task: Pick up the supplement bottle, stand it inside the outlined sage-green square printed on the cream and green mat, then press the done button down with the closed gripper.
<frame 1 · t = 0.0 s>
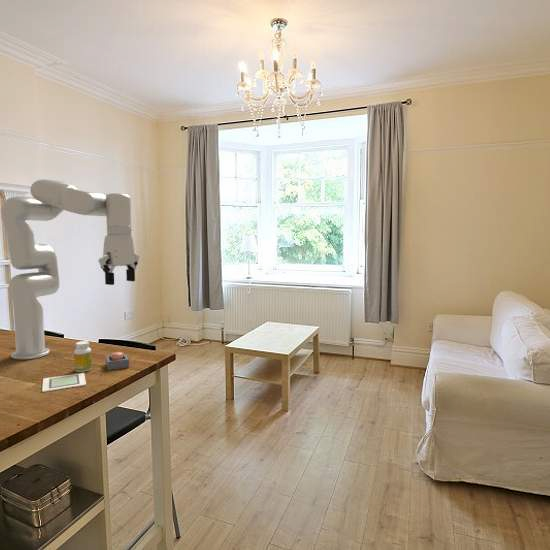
hand: (120, 282, 133), 31 cm above the table, tool pointing down, fingers open, 9 cm apart
done button: (117, 357, 142), point 3 cm above the table, slide at 0.0 cm
cream and green mat: (64, 382, 127), on the table
done button base: (117, 365, 143), on the table
supplement bottle: (83, 370, 139), on the table
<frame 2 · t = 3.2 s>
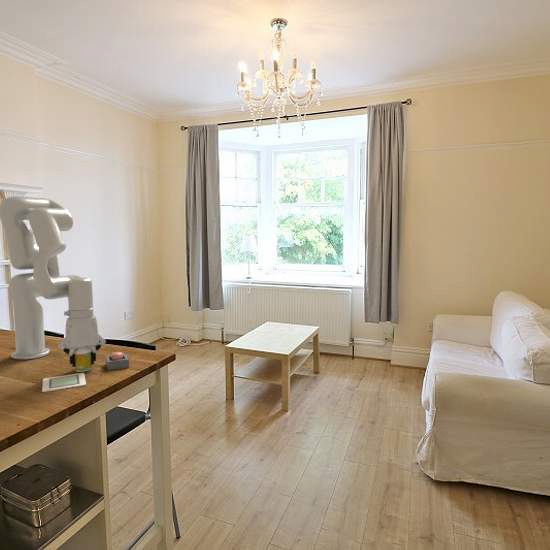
hand: (83, 364, 138), 2 cm above the table, tool pointing down, fingers closed on supplement bottle, 5 cm apart
supplement bottle: (83, 370, 139), on the table, touching gripper
everything else where it was.
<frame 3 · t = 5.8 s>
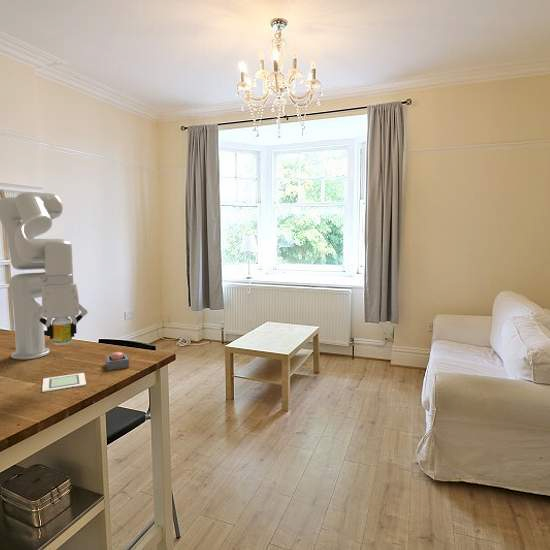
hand: (62, 336, 125), 15 cm above the table, tool pointing down, fingers closed on supplement bottle, 5 cm apart
supplement bottle: (62, 343, 125), point 13 cm above the table, touching gripper
everything else where it was.
when the fingers open (3 cm above the table, at t = 8.3 s): supplement bottle stays where it is, resting on cream and green mat.
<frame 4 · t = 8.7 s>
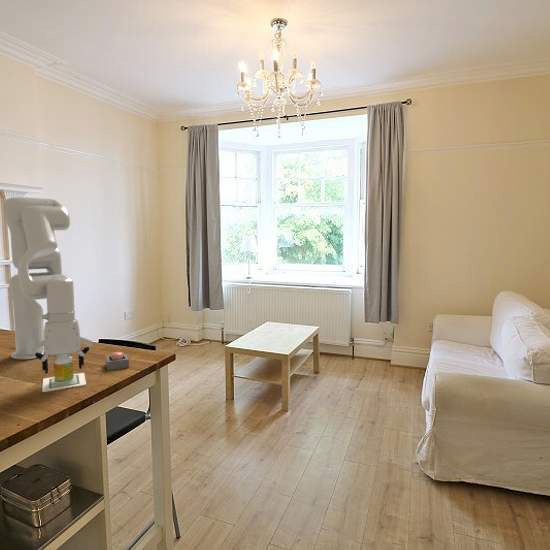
hand: (63, 369, 126), 4 cm above the table, tool pointing down, fingers open, 9 cm apart
supplement bottle: (64, 381, 127), resting on cream and green mat
everything else where it was.
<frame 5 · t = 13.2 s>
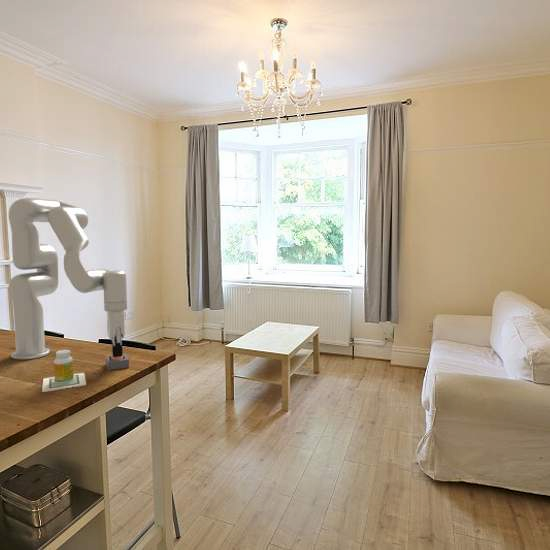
hand: (117, 355, 142), 4 cm above the table, tool pointing down, fingers closed
done button: (117, 359, 143), point 2 cm above the table, slide at 0.8 cm
everything else where it was.
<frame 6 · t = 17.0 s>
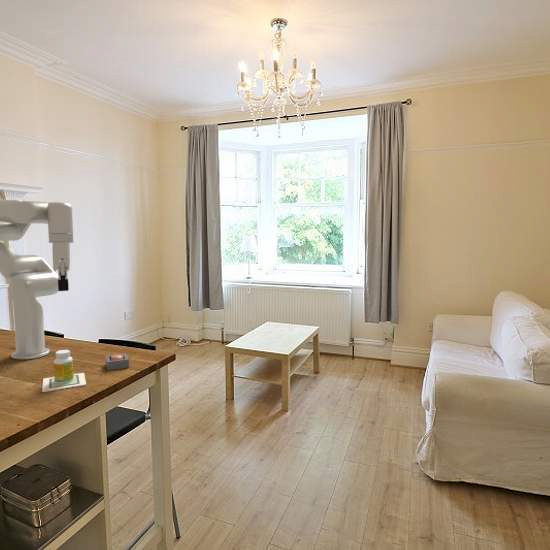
hand: (63, 290, 140), 27 cm above the table, tool pointing down, fingers closed
nothing on the table moved.
at the end: supplement bottle 0.2 cm off-centre on the cream and green mat, point 0.3 cm above the cream and green mat's base; supplement bottle tilted 0°; done button slide at 1.1 cm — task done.
